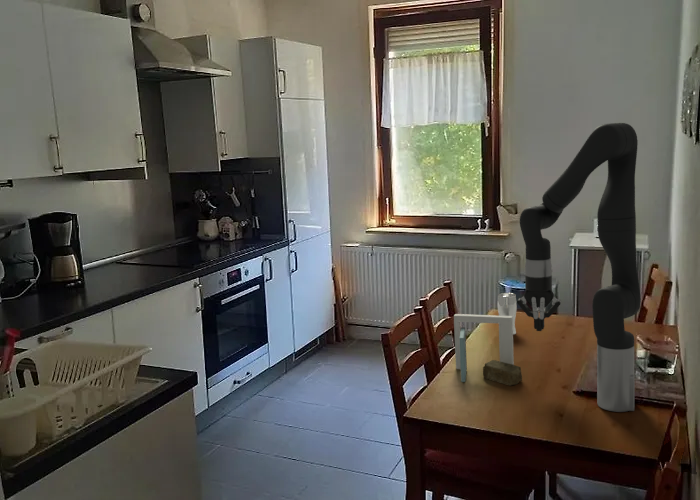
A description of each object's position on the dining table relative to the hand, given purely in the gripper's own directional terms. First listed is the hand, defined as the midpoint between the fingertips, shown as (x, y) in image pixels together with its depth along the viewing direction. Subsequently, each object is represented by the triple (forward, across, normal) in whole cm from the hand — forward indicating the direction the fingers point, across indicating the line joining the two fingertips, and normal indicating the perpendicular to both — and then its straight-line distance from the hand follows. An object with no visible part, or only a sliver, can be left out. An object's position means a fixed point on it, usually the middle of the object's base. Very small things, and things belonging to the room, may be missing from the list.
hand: (539, 330), depth 191 cm
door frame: (+16, -19, +7) cm, 26 cm away
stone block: (+17, -11, 0) cm, 20 cm away
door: (+16, -23, 0) cm, 28 cm away
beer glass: (+17, -17, +48) cm, 53 cm away
